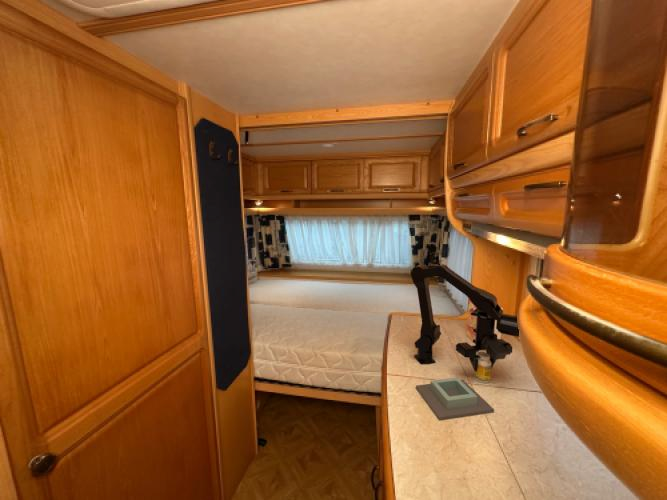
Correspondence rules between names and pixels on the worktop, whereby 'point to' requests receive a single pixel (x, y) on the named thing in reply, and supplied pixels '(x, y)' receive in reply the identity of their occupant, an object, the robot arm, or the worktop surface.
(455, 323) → the worktop surface
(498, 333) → the coffeecake box
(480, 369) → the supplement bottle
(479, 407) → the socket
